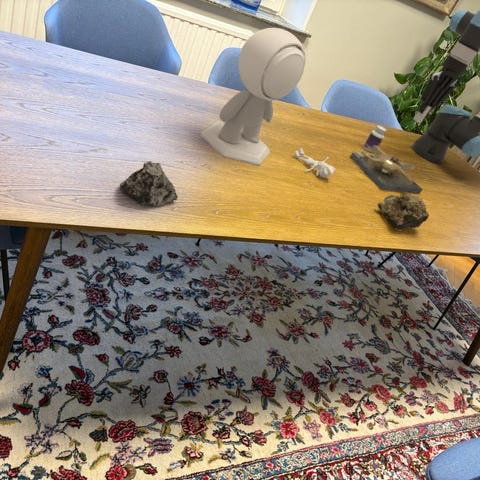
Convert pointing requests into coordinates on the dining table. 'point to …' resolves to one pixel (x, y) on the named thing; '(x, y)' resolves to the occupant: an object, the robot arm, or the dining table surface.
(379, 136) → the pill bottle
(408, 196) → the mineral specimen
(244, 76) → the big headed doll
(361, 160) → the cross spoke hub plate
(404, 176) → the four spoke knob plate
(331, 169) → the figurine
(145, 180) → the rock
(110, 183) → the dining table surface
